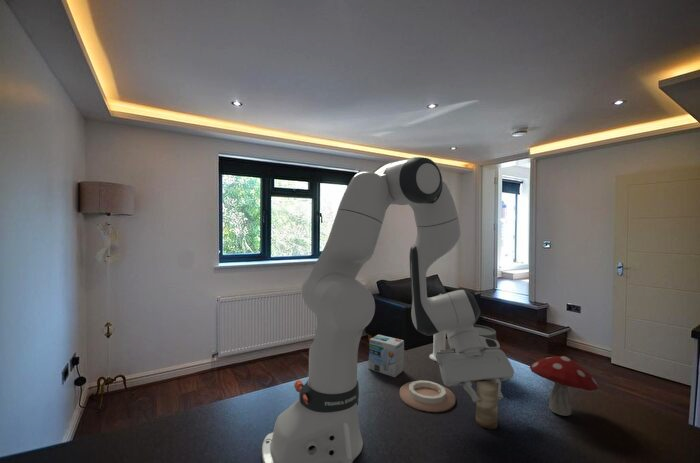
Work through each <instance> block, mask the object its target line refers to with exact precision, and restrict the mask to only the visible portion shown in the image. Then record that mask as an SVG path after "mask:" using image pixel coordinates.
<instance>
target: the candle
mask: <svg viewBox="0 0 700 463" xmlns="http://www.w3.org/2000/svg"><path fill="white" fill-rule="evenodd" d="M439 295H442V293H439ZM432 336H433V345H432V348H433V350H432V353H430V354H429V359H430V360H431V361H433V362H436V363H438V362H437V359H436V354H437V352H439V350H446V343H447V342H446V339H447V338H446V337H447V334H446V332H445V331H440V332H439V333H436V334H433V335H432Z"/></svg>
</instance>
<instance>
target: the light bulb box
mask: <svg viewBox="0 0 700 463" xmlns="http://www.w3.org/2000/svg"><path fill="white" fill-rule="evenodd" d="M368 345H369V346H368V348H369V349H368V351H369V352H368V369H369V370H371V371H373V372H378V373H381V374H383V375H386V376H390V377H391V378H396V377H397V376H399V375H400V374H401V373H403V371H404V361H405V359H404V358H405V357H404V356H405V352H404V351H405V340H403V339H399V338H395V337H391V336H386V335H382V334H377V335H375V336H373V337H371V338H370V339H369V344H368Z"/></svg>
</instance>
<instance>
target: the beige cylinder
mask: <svg viewBox="0 0 700 463" xmlns="http://www.w3.org/2000/svg"><path fill="white" fill-rule="evenodd" d="M476 393H479V394H480V397H481V401H480V402H475V403H476V409H475V423H476V424H477V425H478V426H480V428H483V429H487V430H495V429H497V428H498V425H499V423H498V421H499V420H498V407H499V406H498V404H499V400H498V385H497V384H496V383H494V382H492V381H489V380H478V381H477V384H476Z"/></svg>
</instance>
